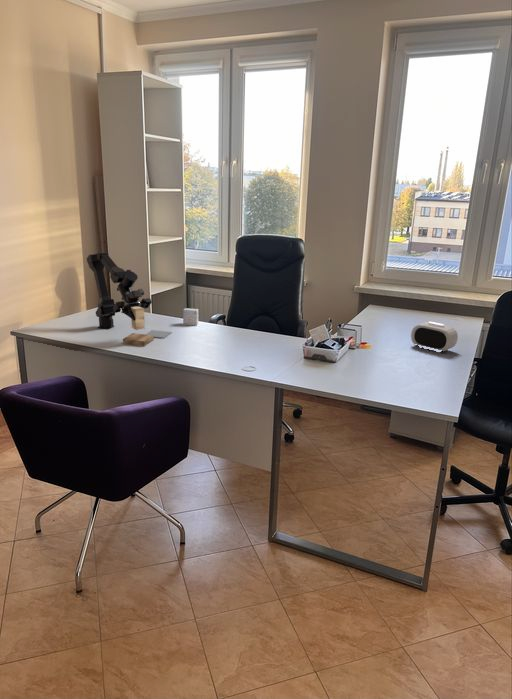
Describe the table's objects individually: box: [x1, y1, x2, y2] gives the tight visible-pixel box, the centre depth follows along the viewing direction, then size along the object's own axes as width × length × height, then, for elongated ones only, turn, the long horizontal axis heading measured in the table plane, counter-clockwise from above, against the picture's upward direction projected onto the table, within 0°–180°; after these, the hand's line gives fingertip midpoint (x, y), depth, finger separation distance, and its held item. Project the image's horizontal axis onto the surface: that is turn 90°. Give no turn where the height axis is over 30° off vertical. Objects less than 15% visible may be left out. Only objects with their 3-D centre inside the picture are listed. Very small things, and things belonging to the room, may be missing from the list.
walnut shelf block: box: [122, 332, 154, 347], centre depth 246 cm, size 11×11×2 cm
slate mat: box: [145, 329, 173, 340], centre depth 260 cm, size 11×11×1 cm
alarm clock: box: [410, 321, 458, 352], centre depth 256 cm, size 21×10×13 cm, turn 47°
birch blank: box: [130, 306, 146, 331], centre depth 243 cm, size 4×4×10 cm
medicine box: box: [182, 307, 199, 327], centre depth 282 cm, size 8×4×9 cm, turn 84°
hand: (139, 319), depth 242 cm, fingers closed on birch blank, 4 cm apart
